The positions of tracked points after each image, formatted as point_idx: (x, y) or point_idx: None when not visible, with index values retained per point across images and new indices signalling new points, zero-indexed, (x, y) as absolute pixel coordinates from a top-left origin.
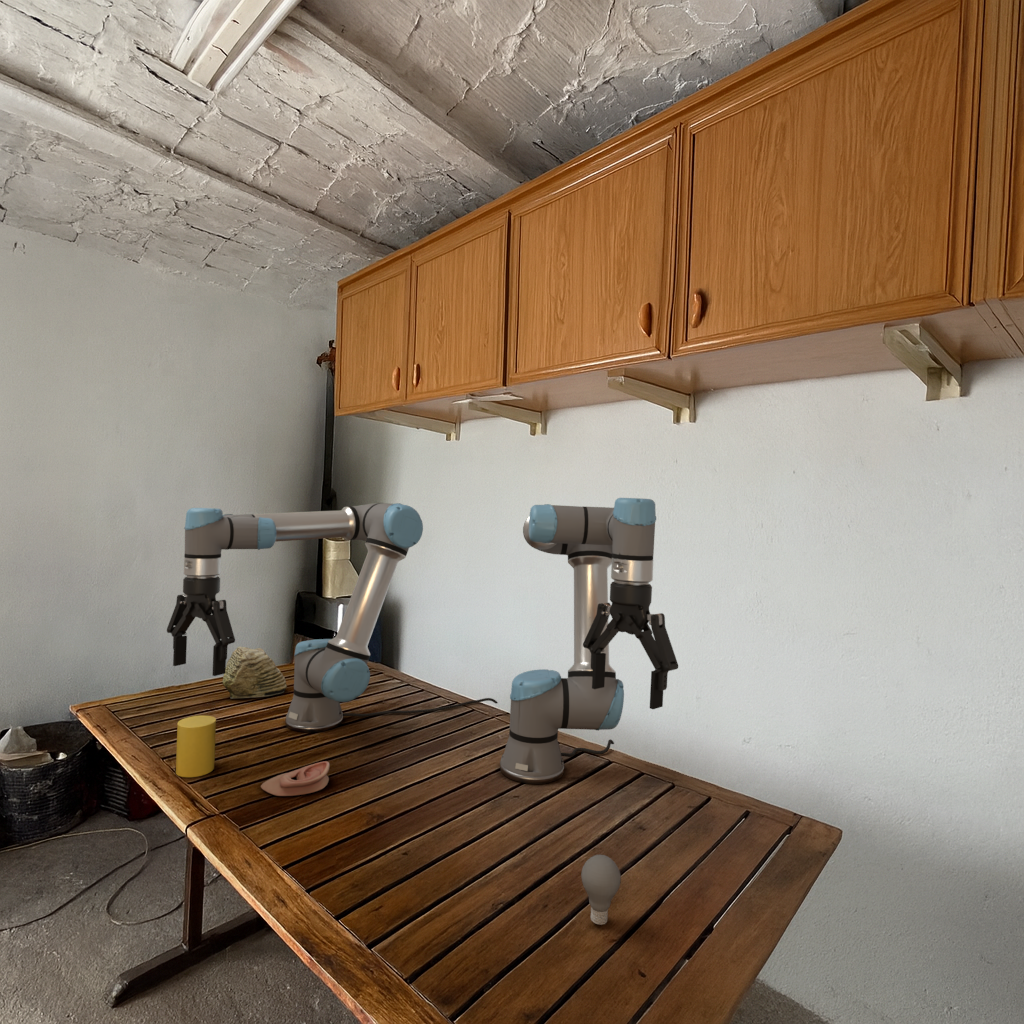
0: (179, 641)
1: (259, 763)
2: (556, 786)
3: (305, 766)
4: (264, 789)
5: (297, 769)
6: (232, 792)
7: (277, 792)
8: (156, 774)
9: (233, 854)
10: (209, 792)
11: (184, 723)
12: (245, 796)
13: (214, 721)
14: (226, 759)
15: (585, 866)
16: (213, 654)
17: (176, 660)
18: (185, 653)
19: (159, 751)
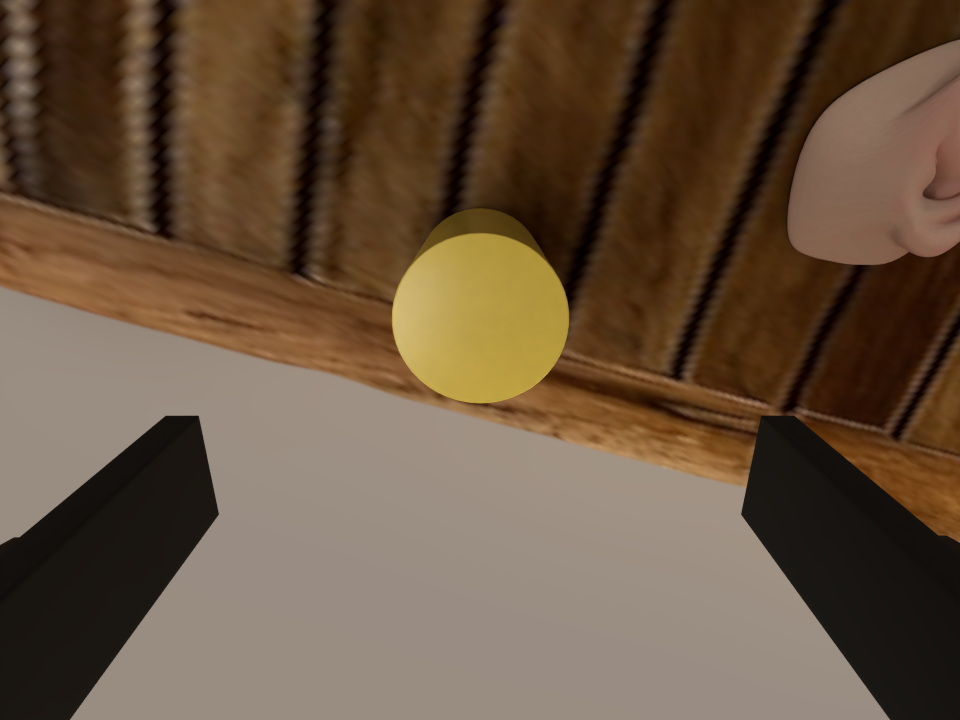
0: (34, 700)
1: (638, 93)
2: None
3: (947, 101)
4: (823, 258)
5: (919, 134)
6: (724, 314)
7: (888, 258)
8: None
9: (951, 511)
10: (659, 351)
11: (460, 373)
12: (781, 310)
13: (555, 275)
14: (494, 143)
15: None
16: (875, 691)
17: (192, 539)
18: (135, 483)
19: (223, 240)
